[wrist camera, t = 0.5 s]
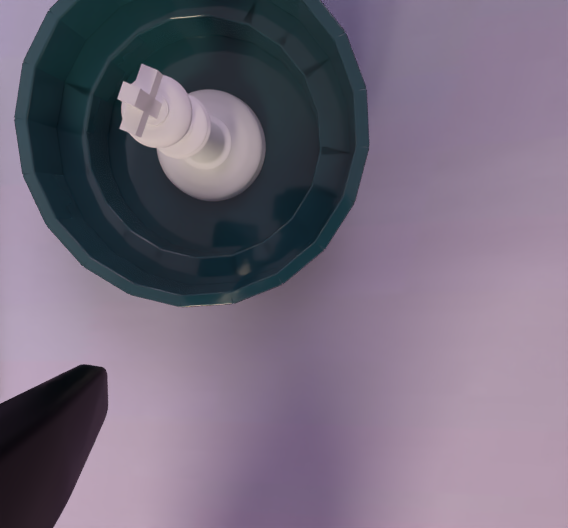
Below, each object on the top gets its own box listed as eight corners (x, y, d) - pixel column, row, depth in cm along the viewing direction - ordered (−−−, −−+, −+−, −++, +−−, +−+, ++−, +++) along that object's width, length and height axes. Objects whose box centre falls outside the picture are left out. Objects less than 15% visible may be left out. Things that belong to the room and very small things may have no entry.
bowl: (314, 313, 22) (317, 342, 17) (55, 249, 22) (-9, 260, 17) (386, 37, 20) (411, -12, 15) (103, -33, 20) (46, -101, 15)
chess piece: (144, 177, 21) (1, 152, 11) (181, 74, 20) (64, -53, 10) (242, 217, 21) (189, 230, 11) (282, 116, 20) (264, 31, 10)
